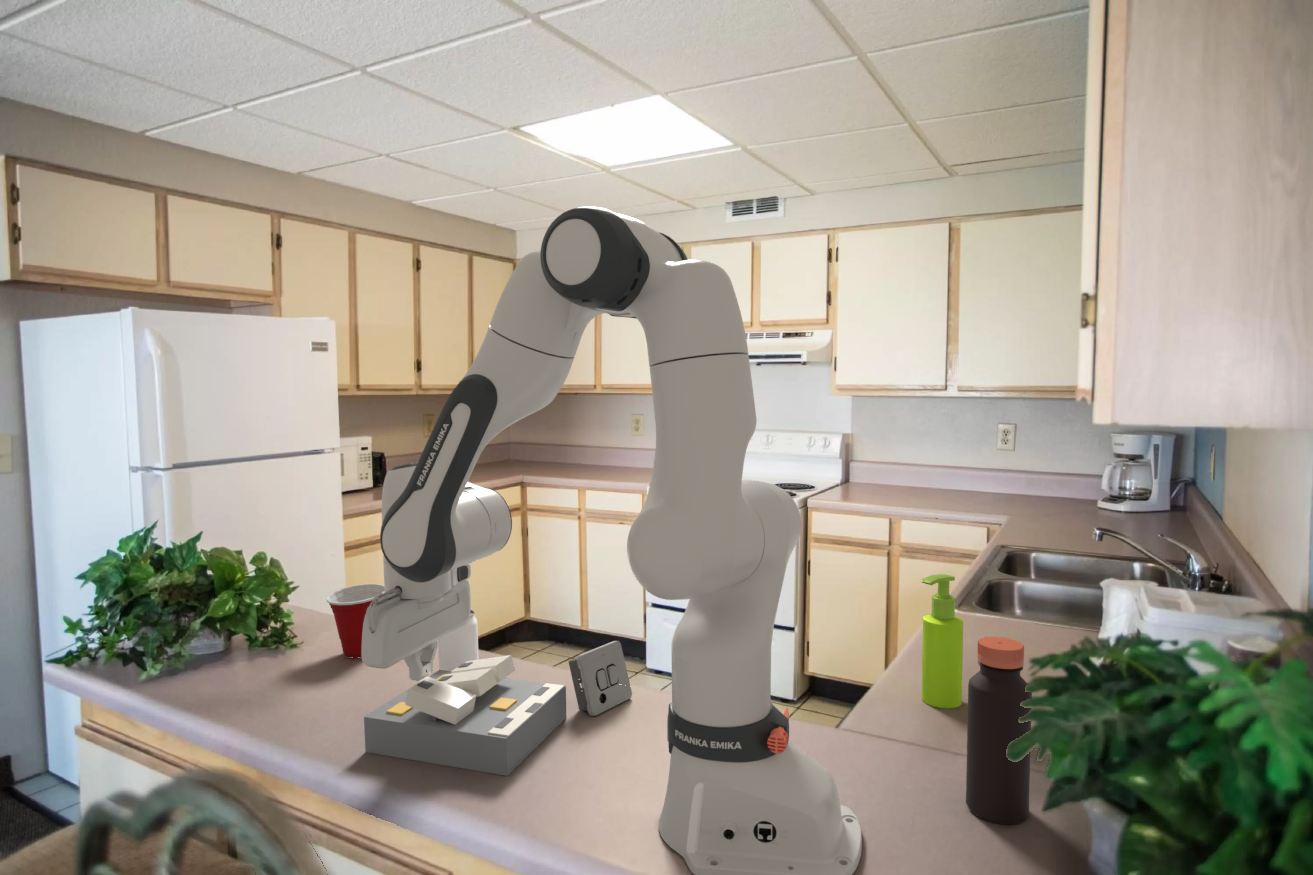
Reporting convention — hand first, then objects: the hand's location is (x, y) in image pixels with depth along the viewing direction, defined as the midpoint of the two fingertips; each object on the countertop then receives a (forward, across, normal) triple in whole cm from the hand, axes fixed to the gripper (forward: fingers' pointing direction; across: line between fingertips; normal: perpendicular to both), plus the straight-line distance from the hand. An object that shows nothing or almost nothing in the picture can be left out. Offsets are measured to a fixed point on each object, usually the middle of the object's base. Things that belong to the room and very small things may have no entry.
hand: (421, 676), depth 107 cm
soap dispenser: (+10, +37, -69) cm, 79 cm away
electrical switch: (+10, +20, -18) cm, 29 cm away
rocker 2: (+4, +5, -3) cm, 8 cm away
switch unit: (+10, +6, -4) cm, 12 cm away
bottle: (+10, +6, -74) cm, 75 cm away
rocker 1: (+4, 0, -3) cm, 5 cm away
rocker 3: (+4, +11, -3) cm, 12 cm away
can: (+10, +22, +8) cm, 25 cm away
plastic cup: (+10, +28, +34) cm, 45 cm away
